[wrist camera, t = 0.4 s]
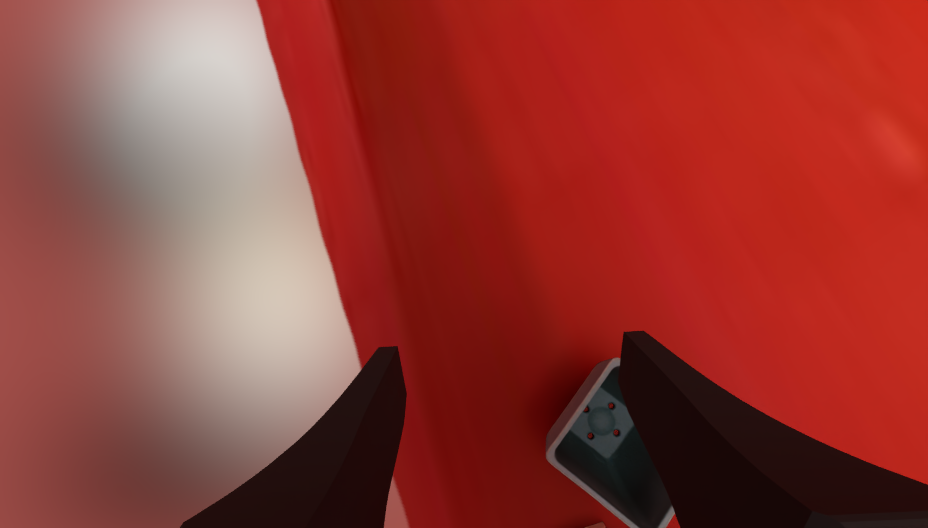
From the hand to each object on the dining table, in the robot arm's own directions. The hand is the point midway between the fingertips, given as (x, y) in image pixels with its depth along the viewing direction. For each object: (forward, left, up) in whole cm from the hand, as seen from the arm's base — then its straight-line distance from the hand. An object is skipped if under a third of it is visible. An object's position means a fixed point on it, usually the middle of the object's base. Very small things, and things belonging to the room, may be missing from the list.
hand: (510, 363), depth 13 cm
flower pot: (-7, -9, -26) cm, 28 cm away
